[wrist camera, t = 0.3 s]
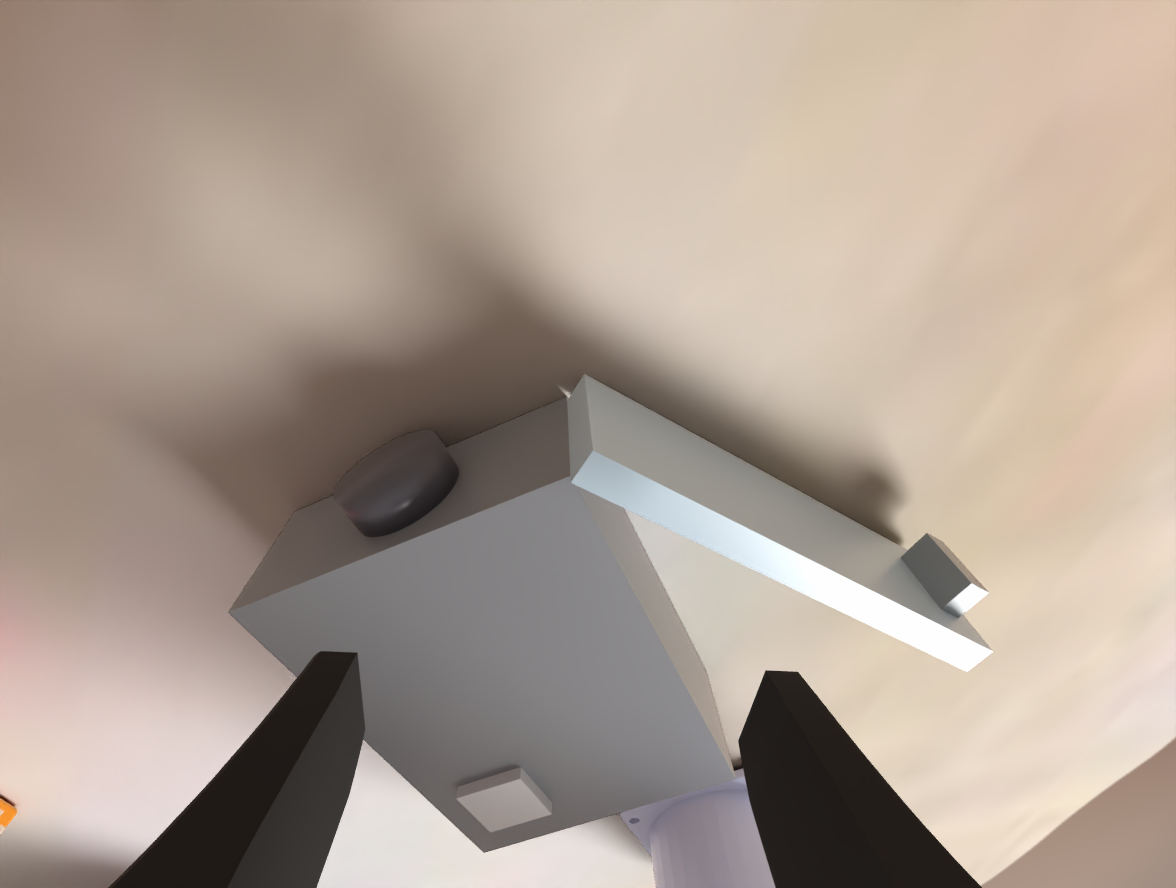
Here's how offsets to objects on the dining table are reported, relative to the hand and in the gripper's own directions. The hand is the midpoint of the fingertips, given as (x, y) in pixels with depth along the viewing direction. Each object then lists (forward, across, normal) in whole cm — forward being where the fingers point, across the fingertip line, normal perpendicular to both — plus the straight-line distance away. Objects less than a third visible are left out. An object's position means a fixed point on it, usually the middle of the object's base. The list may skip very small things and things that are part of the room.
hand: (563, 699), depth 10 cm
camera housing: (+9, +1, +7) cm, 12 cm away
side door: (+9, -7, 0) cm, 11 cm away
